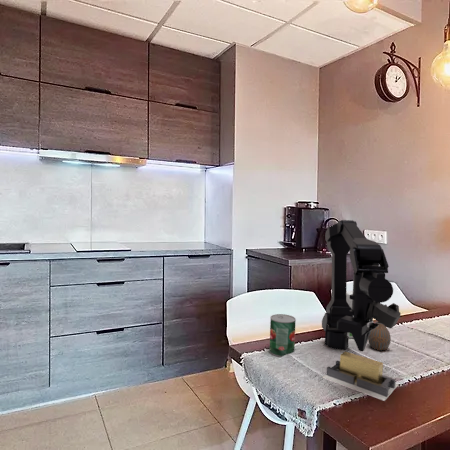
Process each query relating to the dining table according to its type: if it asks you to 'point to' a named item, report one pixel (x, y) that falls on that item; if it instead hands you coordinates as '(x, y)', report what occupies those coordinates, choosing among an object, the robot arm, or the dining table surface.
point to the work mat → (360, 388)
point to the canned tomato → (282, 334)
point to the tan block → (361, 367)
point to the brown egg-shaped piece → (379, 337)
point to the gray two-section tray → (362, 380)
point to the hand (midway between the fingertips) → (361, 350)
